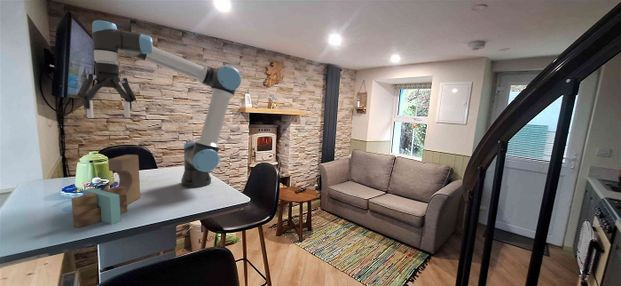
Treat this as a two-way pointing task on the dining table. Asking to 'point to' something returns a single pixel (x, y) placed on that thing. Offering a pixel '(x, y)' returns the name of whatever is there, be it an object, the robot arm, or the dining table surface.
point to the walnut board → (94, 207)
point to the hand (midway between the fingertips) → (110, 117)
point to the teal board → (106, 204)
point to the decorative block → (127, 174)
